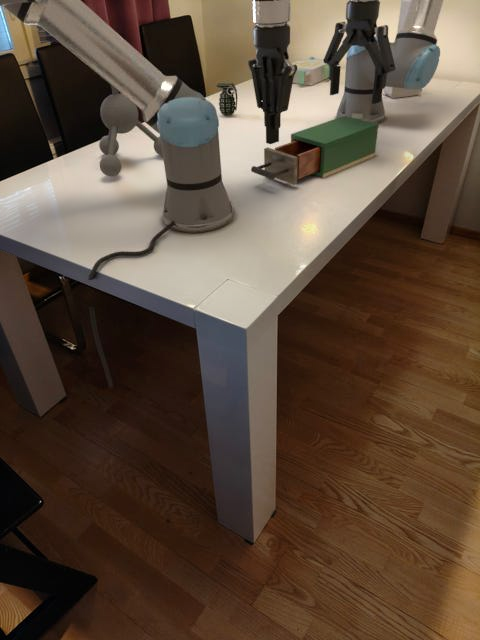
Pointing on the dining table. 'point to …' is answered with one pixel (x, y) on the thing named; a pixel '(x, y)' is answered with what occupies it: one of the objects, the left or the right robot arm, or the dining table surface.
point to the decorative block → (311, 71)
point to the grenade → (227, 99)
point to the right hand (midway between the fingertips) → (354, 98)
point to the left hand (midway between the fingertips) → (272, 142)
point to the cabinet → (341, 142)
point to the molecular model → (119, 130)
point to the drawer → (290, 161)
